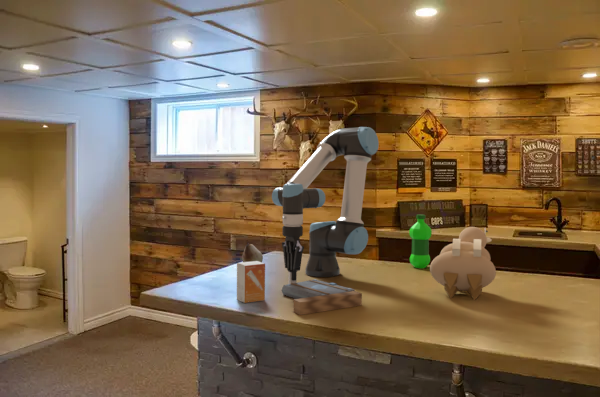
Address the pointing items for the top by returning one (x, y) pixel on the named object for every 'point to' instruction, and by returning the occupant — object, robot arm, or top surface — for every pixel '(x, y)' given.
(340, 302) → the rail
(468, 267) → the walrus toy
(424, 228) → the plastic bottle
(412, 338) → the top surface
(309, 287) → the book
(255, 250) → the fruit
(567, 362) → the top surface
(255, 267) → the small box
